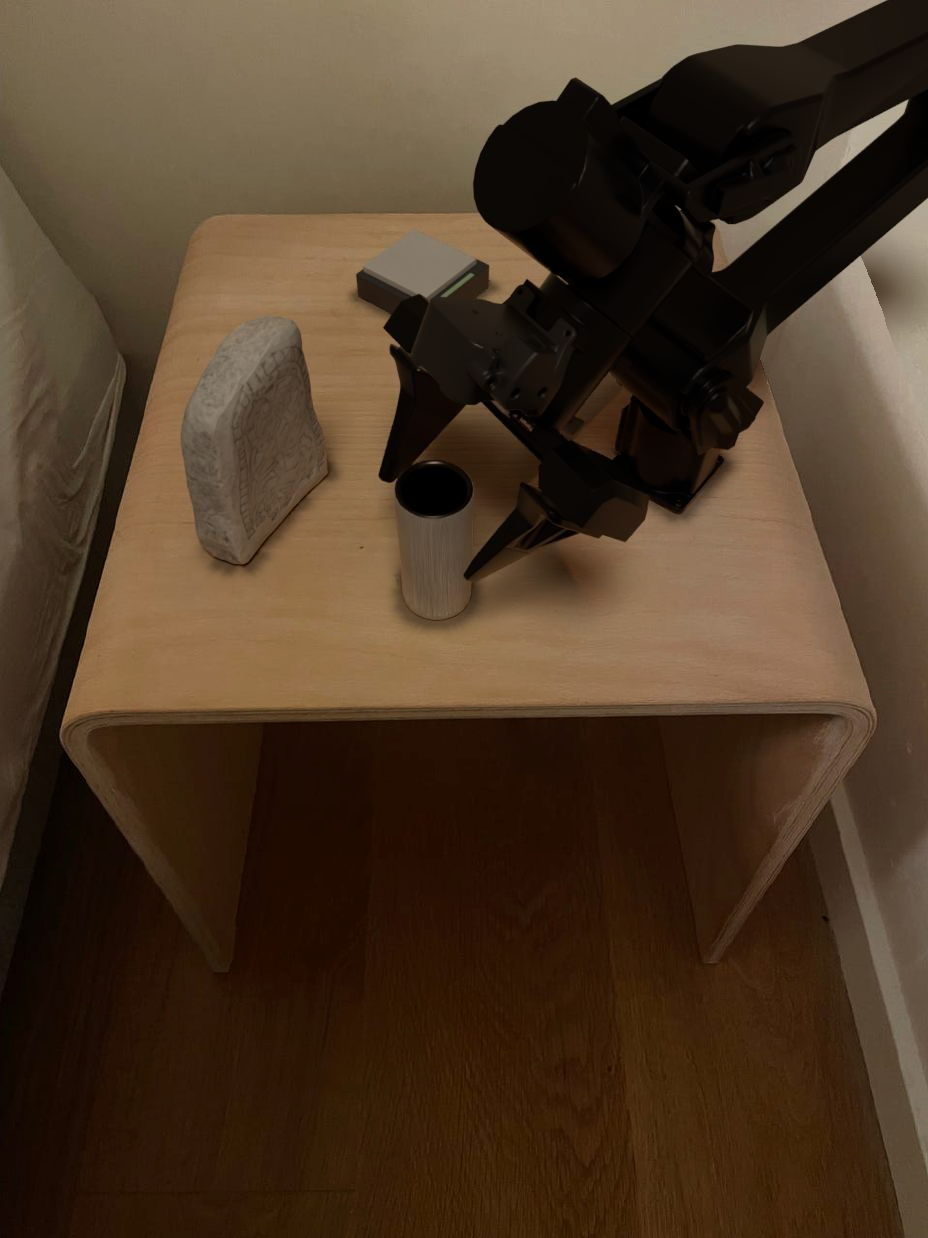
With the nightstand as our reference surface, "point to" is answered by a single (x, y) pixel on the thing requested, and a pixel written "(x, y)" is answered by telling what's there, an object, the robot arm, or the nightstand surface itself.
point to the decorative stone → (251, 438)
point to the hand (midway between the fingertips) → (424, 528)
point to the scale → (420, 272)
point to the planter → (435, 537)
